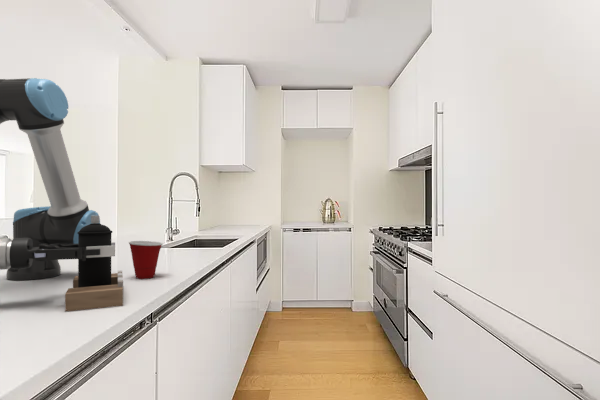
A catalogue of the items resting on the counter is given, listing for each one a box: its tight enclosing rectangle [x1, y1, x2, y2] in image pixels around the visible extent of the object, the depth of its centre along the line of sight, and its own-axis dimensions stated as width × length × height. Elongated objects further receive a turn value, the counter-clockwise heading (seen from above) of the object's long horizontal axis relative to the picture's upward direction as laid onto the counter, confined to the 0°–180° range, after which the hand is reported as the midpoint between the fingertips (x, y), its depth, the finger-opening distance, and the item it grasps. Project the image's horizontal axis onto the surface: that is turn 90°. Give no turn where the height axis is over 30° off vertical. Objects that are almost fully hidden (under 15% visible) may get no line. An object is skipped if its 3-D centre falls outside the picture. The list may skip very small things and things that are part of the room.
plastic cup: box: [128, 240, 164, 280], centre depth 130 cm, size 11×11×12 cm
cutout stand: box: [64, 270, 124, 312], centre depth 103 cm, size 24×12×5 cm, turn 25°
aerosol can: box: [77, 215, 113, 288], centre depth 103 cm, size 8×8×20 cm
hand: (115, 249), depth 105 cm, fingers closed on aerosol can, 8 cm apart
